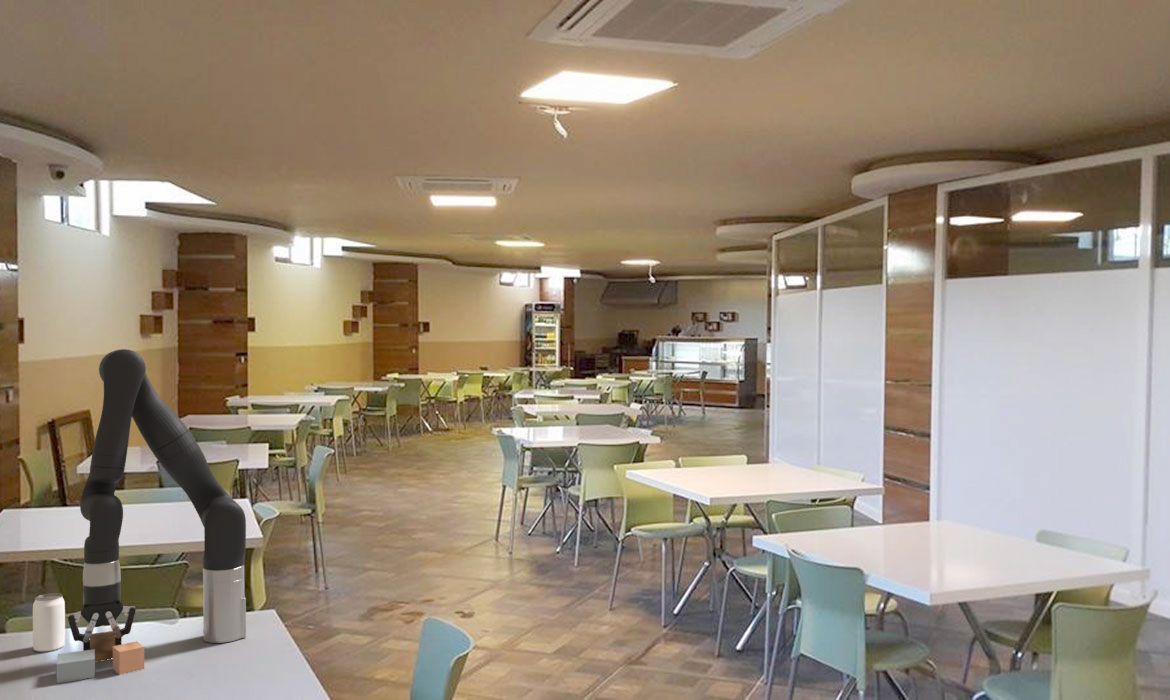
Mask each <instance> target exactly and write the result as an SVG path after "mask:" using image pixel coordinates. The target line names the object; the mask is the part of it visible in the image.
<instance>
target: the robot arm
mask: <svg viewBox="0 0 1170 700" xmlns="http://www.w3.org/2000/svg"><path fill="white" fill-rule="evenodd" d="M146 368H147V367H146V363H145V360H144V358H143V357H142V356H141V355H140V354H139V353H137V352H136V351H134V350H131V349H127V348H125V349H124V348H123V349H116V350H113V351H110V352H108V353H106V355H104V356H103V357H102V358H101V361H100V362H99V367H98V373H99V376H100V379H101V381H102V382H103V400H102V401H103V403H102V411H101V414H100V419H99V423H98V427H97V430H96V434H95V438H94V443H93V446H92V447H93V448H92V452H91V453H92V454H91V459H90V466H89V473H88V476H87V478H86V481H85V484H84V488H83V490H82V493H81V497H80V503H79V504H80V505H79V510H80V513H81V515H82V516H83V518H84V519H85V520H87V521H89V533H88V536H87V537H86V538H85V540H84V545H83V548H84V549H83V560H84V561H83V562H84V563H83V568H82V569H83V571H82V590H83V591H82V608H81V610H80V611H75V612H70V613H68V615H67V621H68V624H69V627H70V631H71V634H72V637H73V641H75V642H78V641H79V642H82V647H83V650H82V651H85V650H90V636H91V634H93V632H94V629H95V628H99V627H102V626H104V627H105V626H106V627H108V626H110V628H111V631H113V632H114V634H115V646H117V645H122V638H123V637H124V636H125V635H129V634H130V633H131V630H132V626H133V622H134V618H135V614H136V605H134V604H133V605H130V606H129V605H128V606H127V605H124V604H123V603H122V602H121V601H122V598H121V597H122V595H121V592H122V591H121V589H122V587H121V582H122V580H121V577H122V575H121V565H120V536H121V532H122V526H123V519H124V506H123V504H122V501H121V499H120V498H119V497H118V496H117V495H115V493H116V489H117V488H116V487H117V485H118V482H119V481H121V480H122V479H123V478H124V477H123V476H124V473H125V467H126V464H127V455H128V447H129V440H130V439H129V438H130V432H131V431H130V430H131V423H132V419H133V421H134V423H135V425H136V427H137V429H138V431H139V432H140V435H141V436H142V438H143V439H144V441H145V442H146V445H147V446H148V448H149V449H150V451H151V452H152V454H153V455H154V457H155V458H156V460H157V461H158V463H159V464H160V466H161V467H162V468H163V469H164V470H165V471H166V474H168V476H170V478H171V479H172V480H173V481H174V482H175V483H176V484H177V485H178V486H179V487H180V489H182V490H183V492H184V493H185V494H186V496H187V497H188V498H189V501H190V502H191V504H192V506H193V507H194V509H195V511H196V513H197V514H198V517H199V519H200V521H201V524H202V525H203V528H204V533H203V534H204V539H203V540H204V542H203V543H204V548H203V549H204V551H203V558H202V585H203V587H202V593H203V595H202V596H203V597H202V599H203V602H202V603H203V604H202V607H203V609H202V610H203V615H202V616H203V628H202V629H203V630H202V631H203V641H205V643H206V642H207V643H212V644H218V643H219V644H221V643H229V642H234V641H237V640H241V639H245V638H247V603H246V602H247V598H246V596H245V555H246V550H247V549H246V547H247V546H246V543H247V542H246V541H247V538H246V536H247V535H246V534H247V533H246V532H247V528H246V527H247V524H246V522H247V521H246V520H247V519H246V515H245V511H244V509H243V508H242V507H241V506H240V505H239V504H238V503H237V502H236V500H234V499H233V498H232V497H231V495H229V493H228V492H227V491H226V490H225V488H224V487H222V485H221V484H220V483H219V481H218V480H217V478H216V477H215V475H214V474H213V472H212V470H211V468H210V466H209V463H208V461H207V459H206V457H205V454H204V453H203V451H202V448H201V447H200V445H199V443H198V442H197V440H196V438H195V437H194V436H193V434H192V433H191V432H190V430H189V428H188V427H187V425H185V423H184V422H183V420H181V418H180V417H179V416H178V415H177V414H176V413H175V412H174V411H173V409H171V407H170V406H169V405H168V404H167V403H166V402H165V401H164V400H163V399H162V397H160V395H159V394H158V393H157V391H156V389H155V388H154V386H153V384H152V383H151V380H150V379H149V377H148V375H147V374H146ZM122 612H123V613H124V616H125V617H126V619H125V624H124V627H122V628H120V626H119V623H118V621H117V619H118V617H119V616H120V615H121V614H122ZM81 617H82V618H83V619H84V621H86V622H87V625H86V629H85V631H84V633H80V630H79V625H78V623H79V622H80V618H81Z"/></svg>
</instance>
